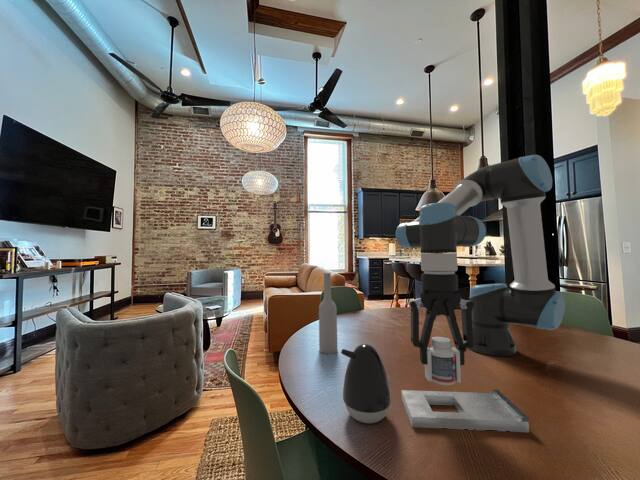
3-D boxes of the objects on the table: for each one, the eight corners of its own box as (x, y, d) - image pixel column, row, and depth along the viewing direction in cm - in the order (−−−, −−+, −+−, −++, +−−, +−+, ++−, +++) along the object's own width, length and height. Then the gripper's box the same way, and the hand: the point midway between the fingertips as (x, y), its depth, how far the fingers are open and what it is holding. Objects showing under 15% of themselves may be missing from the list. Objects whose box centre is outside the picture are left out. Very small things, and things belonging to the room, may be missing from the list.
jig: (498, 402, 64) (497, 389, 65) (529, 432, 54) (528, 417, 54) (401, 398, 67) (401, 386, 67) (412, 427, 56) (411, 412, 56)
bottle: (320, 347, 104) (319, 272, 106) (337, 347, 104) (336, 272, 105) (318, 353, 98) (317, 273, 99) (337, 354, 97) (335, 273, 98)
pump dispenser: (339, 404, 64) (337, 338, 65) (382, 402, 65) (380, 336, 66) (346, 433, 54) (345, 354, 55) (398, 429, 55) (396, 351, 56)
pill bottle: (459, 387, 58) (457, 343, 58) (432, 385, 59) (430, 342, 59) (452, 376, 63) (450, 336, 63) (427, 374, 64) (426, 335, 64)
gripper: (474, 271, 65) (478, 373, 64) (394, 271, 67) (396, 370, 65) (490, 273, 57) (495, 389, 56) (400, 273, 59) (403, 385, 58)
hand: (442, 378), depth 61 cm, fingers closed on pill bottle, 5 cm apart
